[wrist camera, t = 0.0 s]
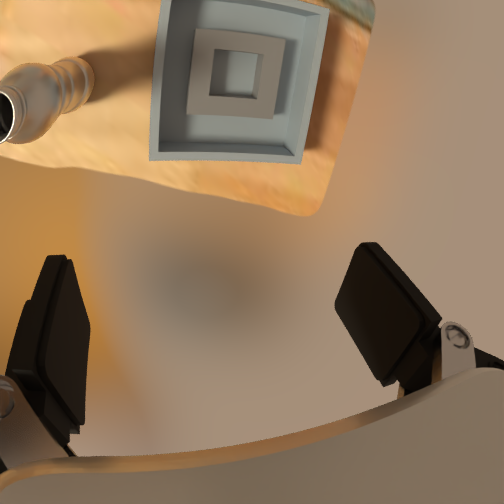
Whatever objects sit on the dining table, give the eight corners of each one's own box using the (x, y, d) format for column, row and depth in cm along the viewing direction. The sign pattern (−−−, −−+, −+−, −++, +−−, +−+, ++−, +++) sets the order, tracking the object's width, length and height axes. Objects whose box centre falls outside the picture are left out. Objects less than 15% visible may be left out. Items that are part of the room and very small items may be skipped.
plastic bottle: (105, 61, 28) (46, 70, 12) (89, 113, 31) (26, 174, 15) (58, 52, 25) (-33, 63, 9) (43, 105, 28) (-45, 161, 13)
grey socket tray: (164, -8, 25) (164, -17, 21) (311, 12, 30) (329, 9, 26) (150, 148, 36) (149, 160, 32) (286, 151, 41) (300, 164, 37)
